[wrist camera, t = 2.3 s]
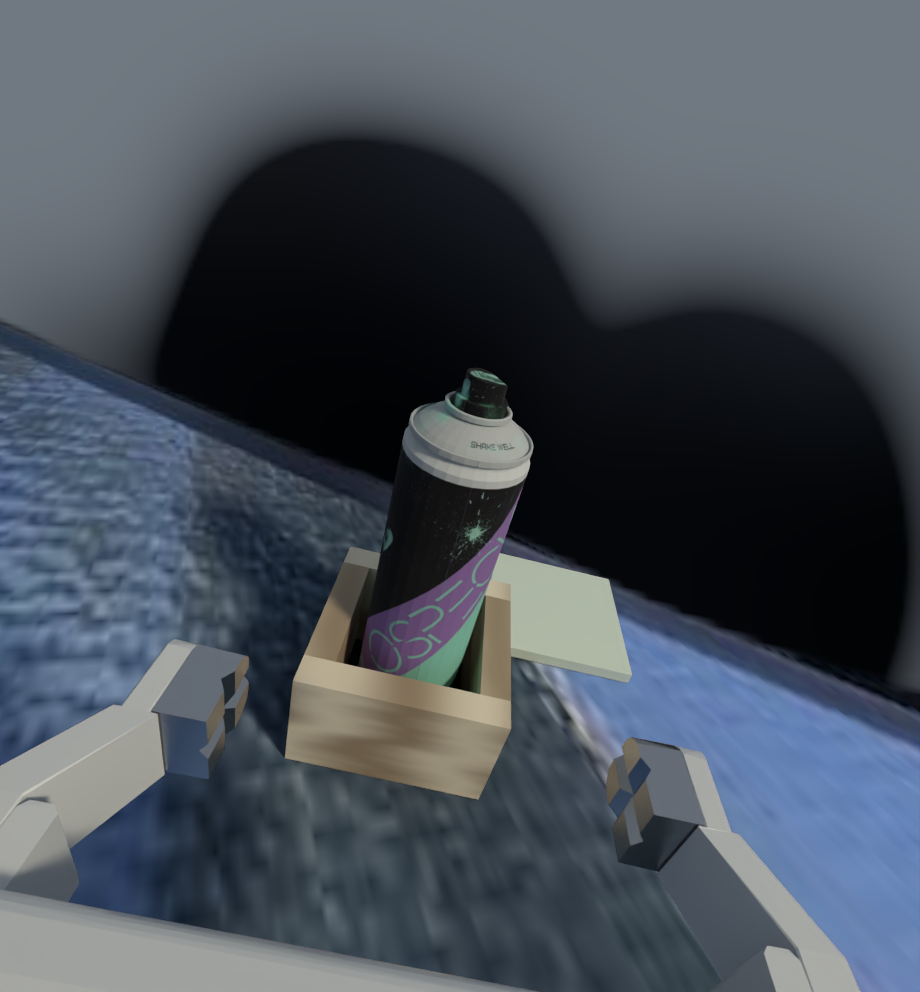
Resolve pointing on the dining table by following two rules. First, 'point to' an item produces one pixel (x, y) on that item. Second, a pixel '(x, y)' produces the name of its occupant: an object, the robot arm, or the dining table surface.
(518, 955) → the dining table surface
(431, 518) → the spray can
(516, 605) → the sage pad
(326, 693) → the can holder
